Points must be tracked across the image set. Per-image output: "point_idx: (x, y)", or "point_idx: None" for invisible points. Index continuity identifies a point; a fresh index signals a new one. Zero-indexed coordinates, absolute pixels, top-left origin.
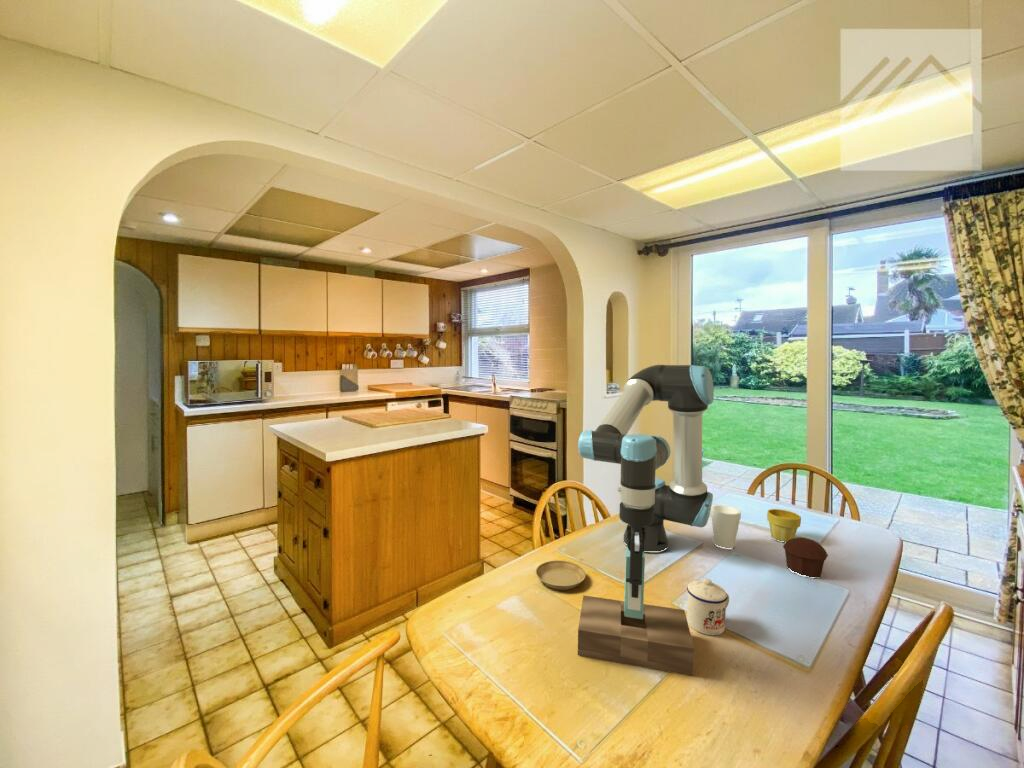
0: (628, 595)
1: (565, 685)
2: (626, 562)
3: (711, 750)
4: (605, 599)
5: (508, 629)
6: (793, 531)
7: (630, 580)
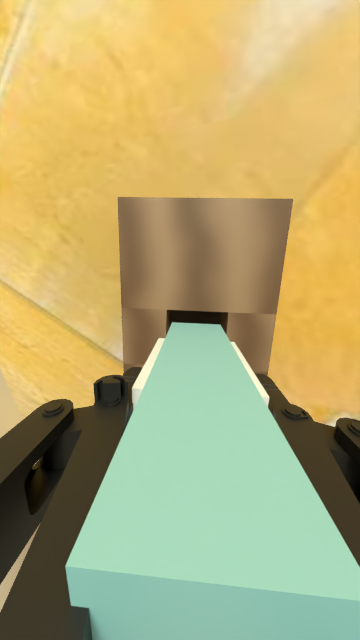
0: (149, 355)
1: (57, 202)
2: (108, 471)
3: (24, 398)
4: (277, 271)
5: (186, 14)
6: None
7: (29, 418)
